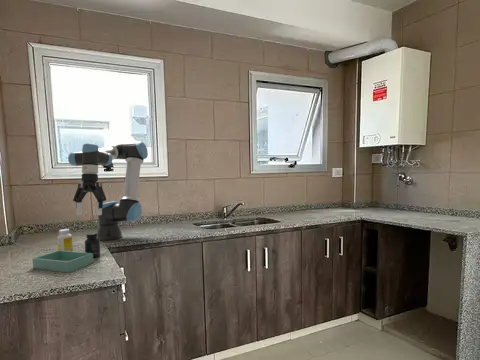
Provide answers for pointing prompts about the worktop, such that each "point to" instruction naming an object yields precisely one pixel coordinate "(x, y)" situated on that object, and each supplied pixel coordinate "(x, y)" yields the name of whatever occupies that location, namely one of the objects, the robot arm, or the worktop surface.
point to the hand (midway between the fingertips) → (89, 215)
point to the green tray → (63, 261)
